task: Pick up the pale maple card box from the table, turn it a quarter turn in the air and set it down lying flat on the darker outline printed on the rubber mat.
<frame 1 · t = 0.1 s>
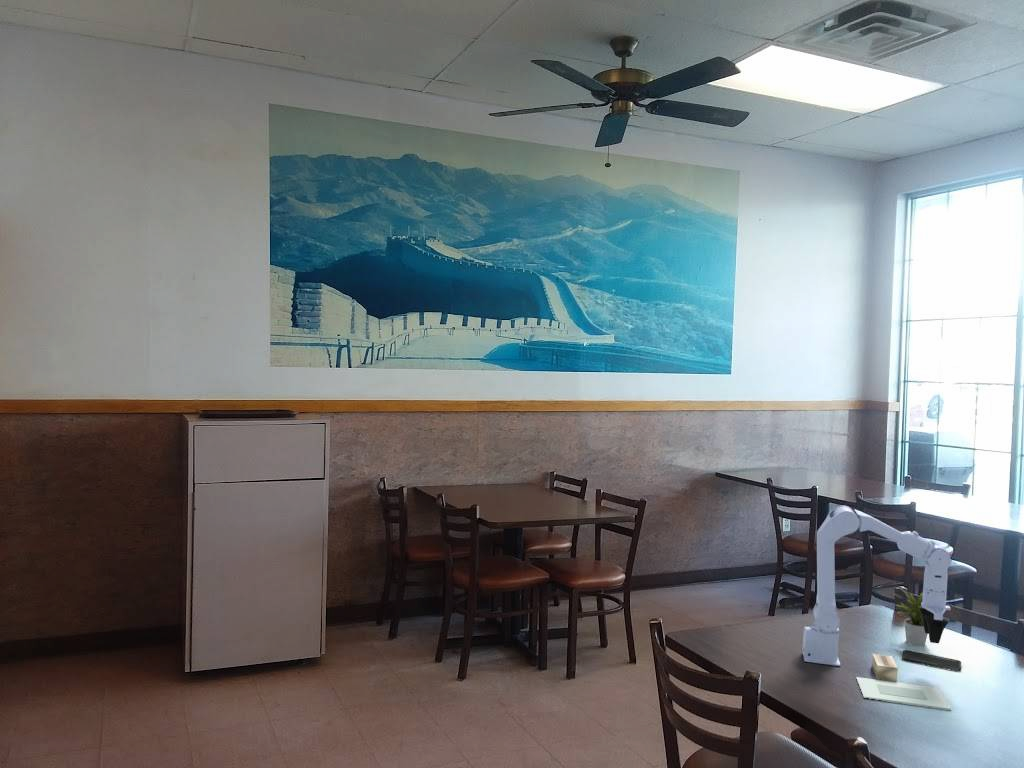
hand: (931, 638, 222), 10 cm above the table, tool pointing down, fingers open, 7 cm apart
card box: (883, 674, 221), on the table
phone: (930, 663, 231), on the table
house plant: (914, 641, 248), on the table
mat: (901, 694, 208), on the table
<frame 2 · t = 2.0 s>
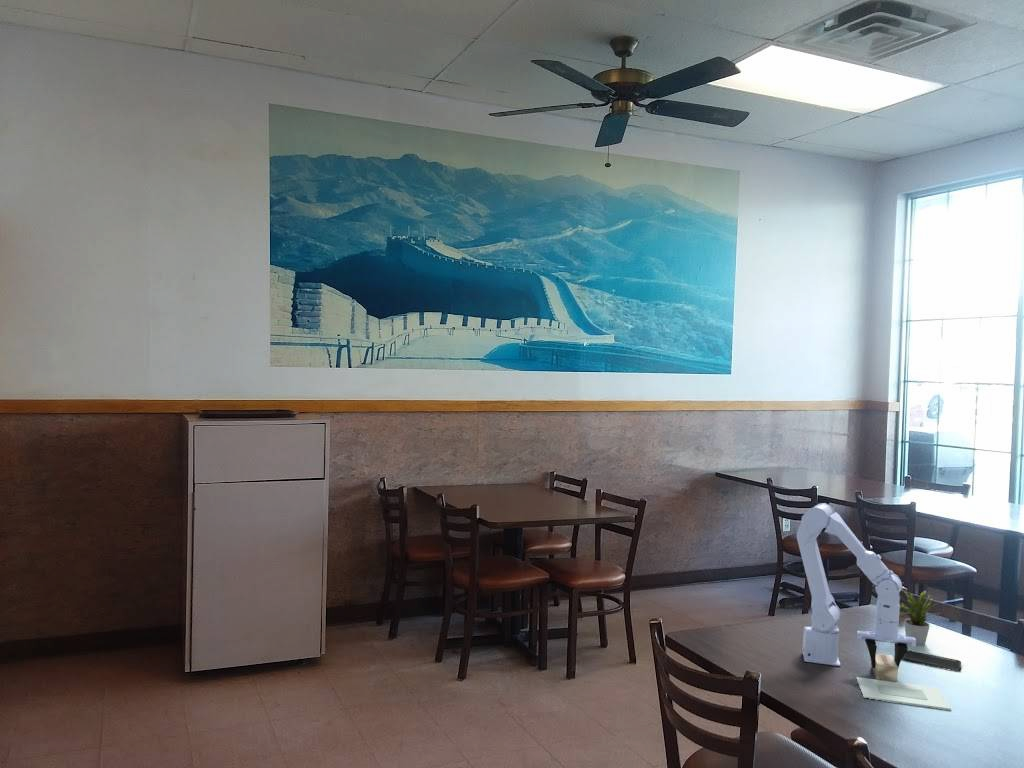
hand: (884, 668, 221), 2 cm above the table, tool pointing down, fingers closed on card box, 5 cm apart
card box: (884, 674, 221), on the table, touching gripper
everything else where it was.
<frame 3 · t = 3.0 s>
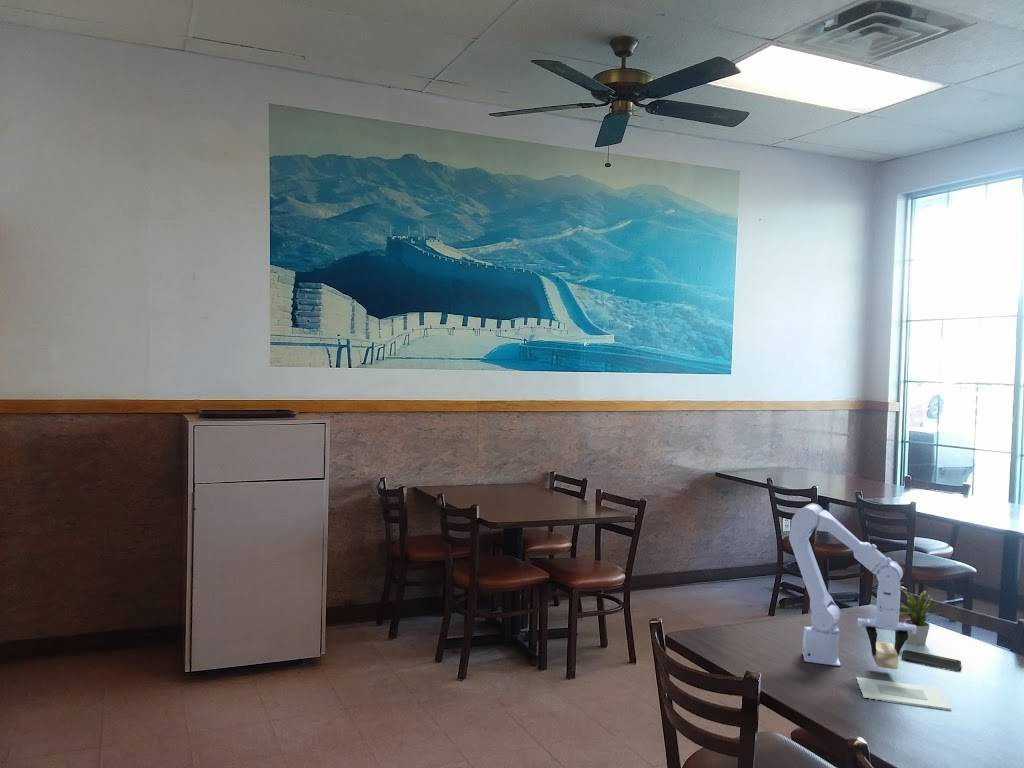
hand: (884, 655, 220), 5 cm above the table, tool pointing down, fingers closed on card box, 5 cm apart
card box: (884, 662, 220), point 3 cm above the table, touching gripper
everything else where it was.
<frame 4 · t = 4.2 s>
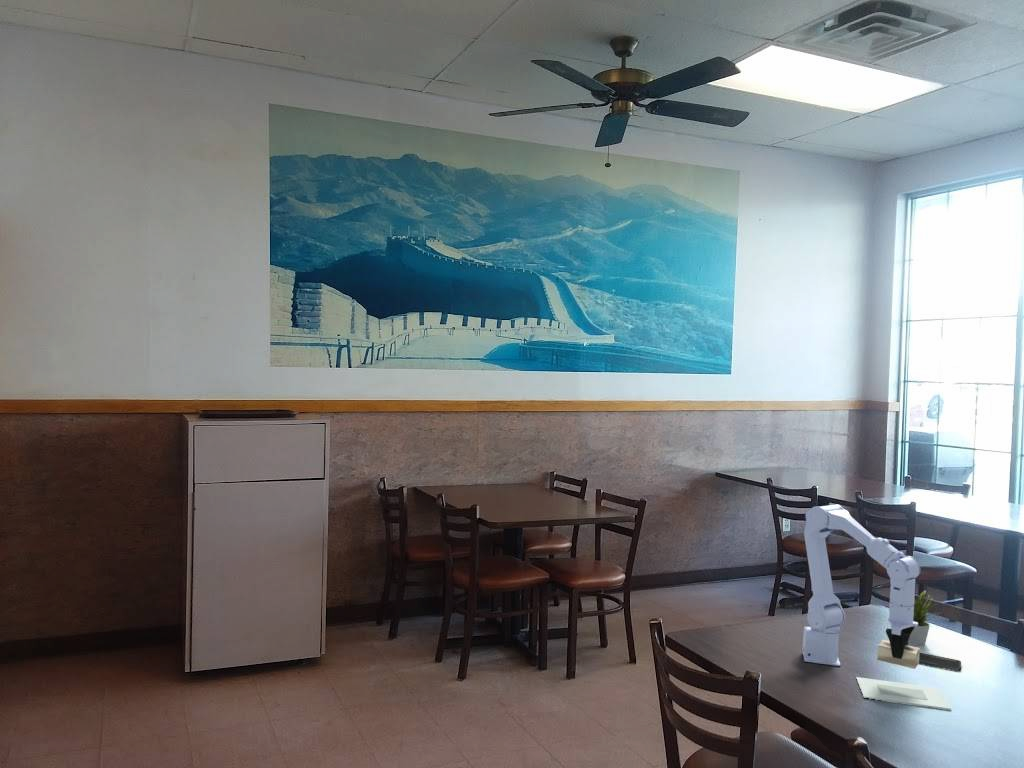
hand: (898, 654, 211), 9 cm above the table, tool pointing down, fingers closed on card box, 5 cm apart
card box: (898, 661, 211), point 7 cm above the table, touching gripper
everything else where it was.
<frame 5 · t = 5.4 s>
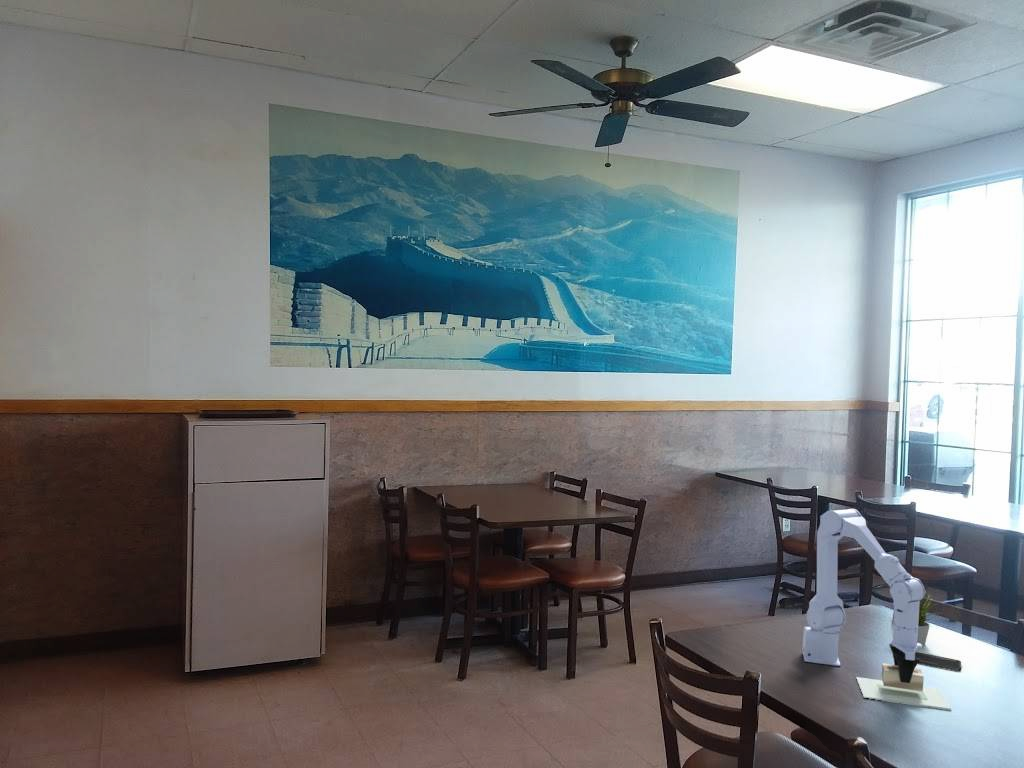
hand: (902, 677, 207), 4 cm above the table, tool pointing down, fingers closed on card box, 5 cm apart
card box: (901, 684, 207), point 2 cm above the table, touching gripper
everything else where it was.
when the fingers open (4 cm above the table, at t = 6.1 s): card box drops 1 cm, resting on mat.
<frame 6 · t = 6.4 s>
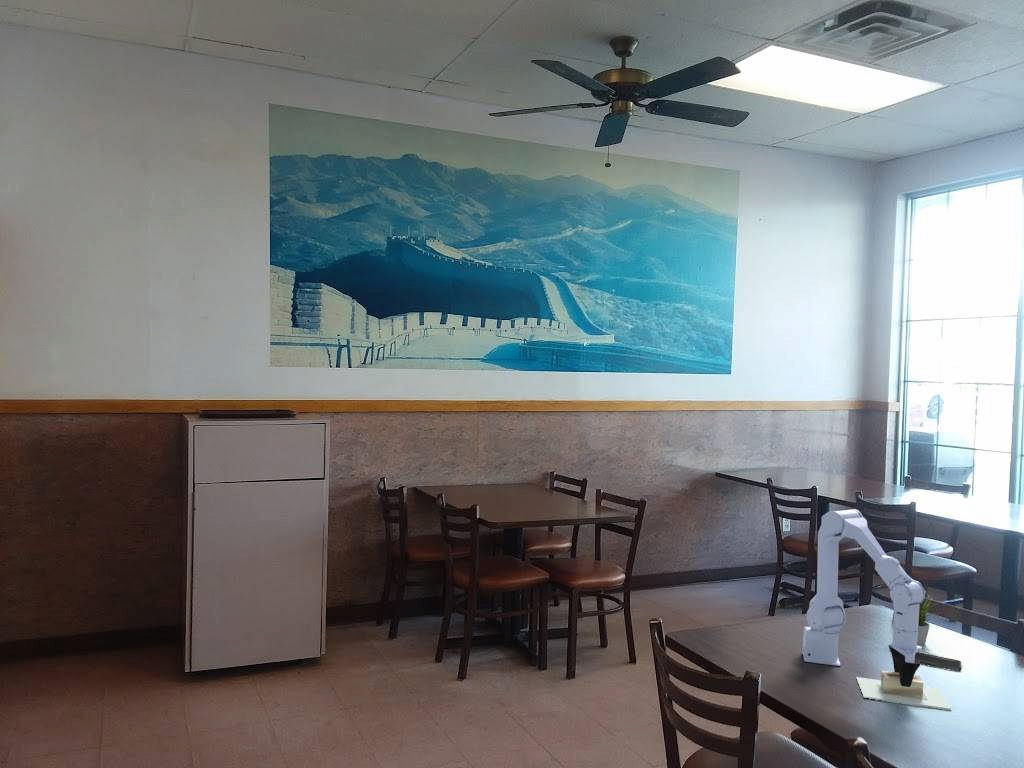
hand: (902, 680, 207), 4 cm above the table, tool pointing down, fingers open, 7 cm apart
card box: (901, 691, 207), point 1 cm above the table, touching mat
everything else where it was.
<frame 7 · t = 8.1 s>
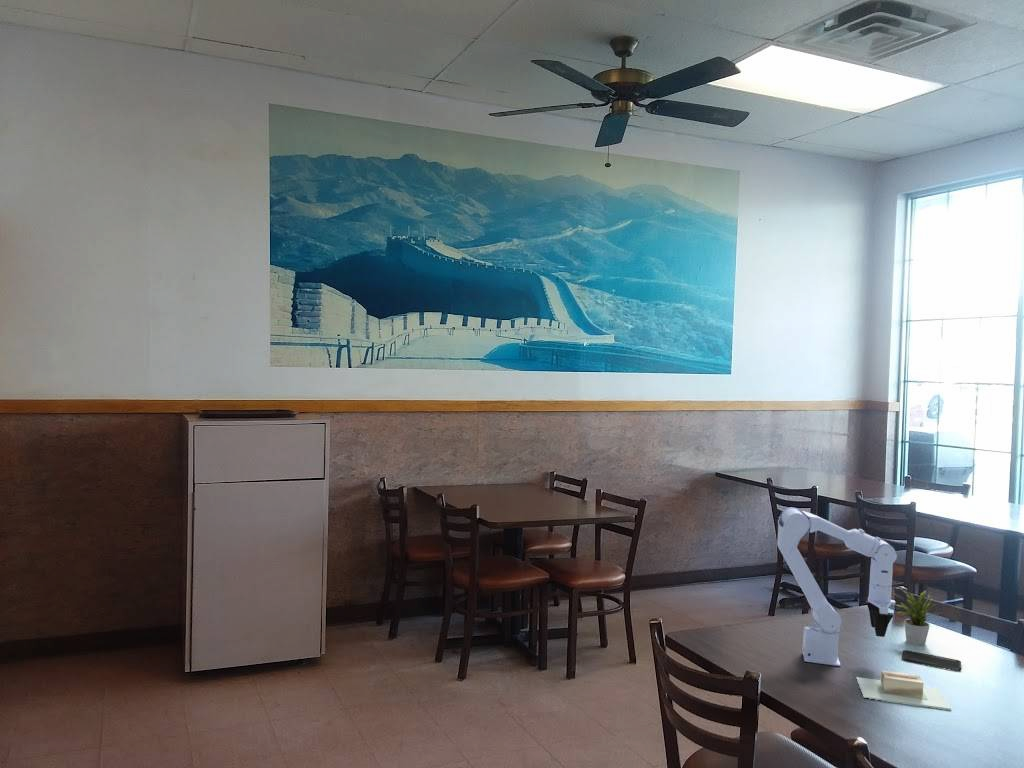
hand: (877, 631, 227), 9 cm above the table, tool pointing down, fingers open, 7 cm apart
nothing on the table moved.
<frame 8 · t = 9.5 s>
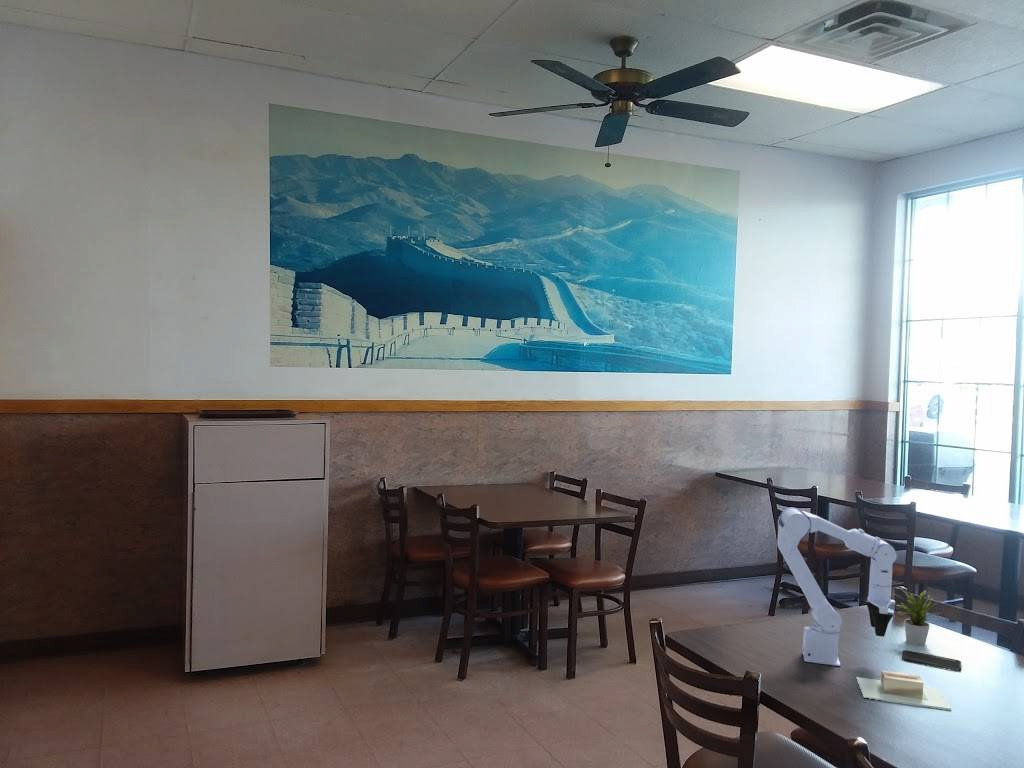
hand: (877, 631, 227), 9 cm above the table, tool pointing down, fingers open, 7 cm apart
nothing on the table moved.
at the end: card box inside the target area on the mat (0.1 cm from its centre), point 0.6 cm above the mat's base; card box tilted 0°; the gripper is holding nothing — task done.
